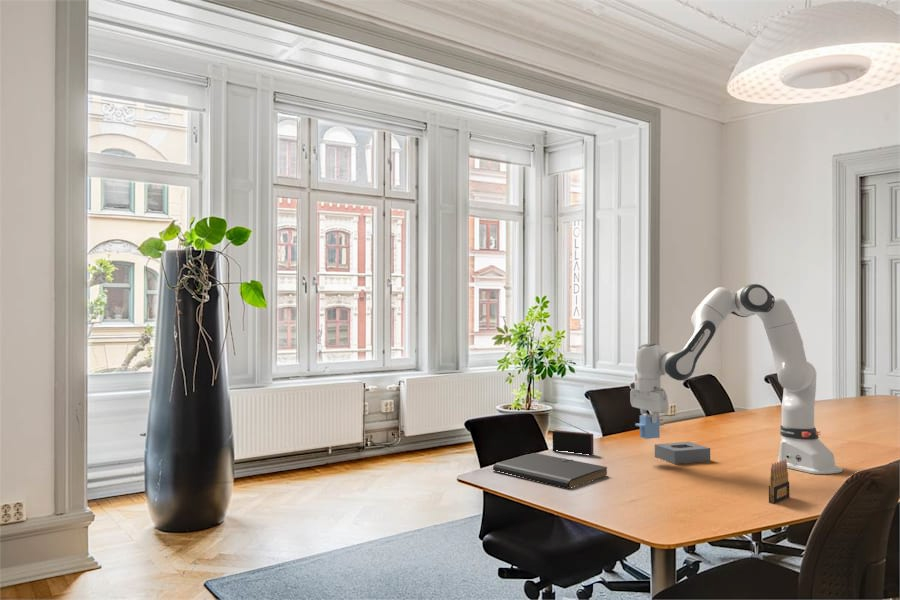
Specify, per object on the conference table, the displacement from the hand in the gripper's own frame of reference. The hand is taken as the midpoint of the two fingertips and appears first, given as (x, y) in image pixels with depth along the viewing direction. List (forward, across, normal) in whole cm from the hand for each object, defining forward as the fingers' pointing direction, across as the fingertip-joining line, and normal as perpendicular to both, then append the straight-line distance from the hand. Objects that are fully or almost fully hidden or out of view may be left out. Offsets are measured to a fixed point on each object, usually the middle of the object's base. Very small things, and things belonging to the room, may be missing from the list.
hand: (649, 421), depth 256 cm
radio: (+15, +25, +21) cm, 36 cm away
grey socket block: (+16, 0, -15) cm, 21 cm away
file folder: (+16, -4, +44) cm, 47 cm away
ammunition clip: (+16, -55, -8) cm, 58 cm away
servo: (+6, 0, 0) cm, 6 cm away
